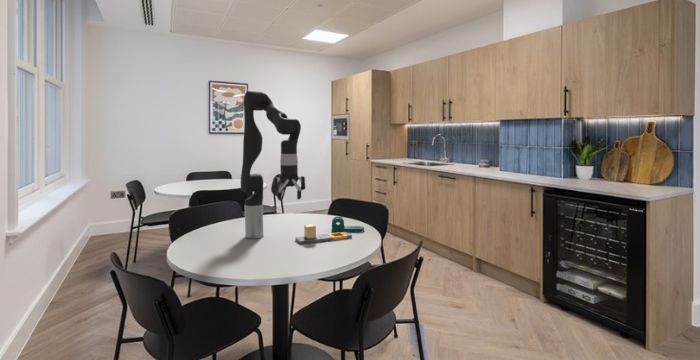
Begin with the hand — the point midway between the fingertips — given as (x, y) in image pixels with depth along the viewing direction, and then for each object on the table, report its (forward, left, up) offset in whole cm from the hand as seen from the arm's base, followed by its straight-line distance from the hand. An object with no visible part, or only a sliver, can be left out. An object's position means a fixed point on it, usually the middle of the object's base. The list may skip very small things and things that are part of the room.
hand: (289, 199), depth 176 cm
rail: (-15, +23, -24) cm, 36 cm away
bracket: (-26, +42, -25) cm, 55 cm away
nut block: (-15, +15, -24) cm, 32 cm away
